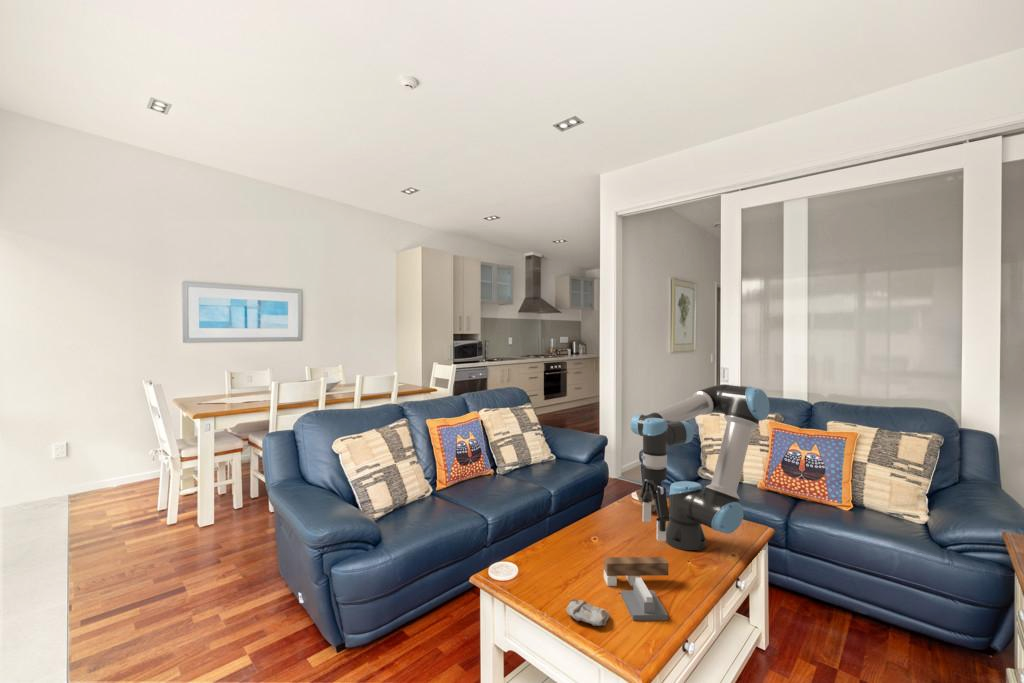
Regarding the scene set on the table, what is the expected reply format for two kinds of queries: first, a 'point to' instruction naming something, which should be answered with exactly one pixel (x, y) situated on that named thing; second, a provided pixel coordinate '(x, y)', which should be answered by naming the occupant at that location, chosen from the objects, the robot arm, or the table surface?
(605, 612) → the stone
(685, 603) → the table surface
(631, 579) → the blocks
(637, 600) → the fulcrum
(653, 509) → the rock
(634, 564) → the bar
